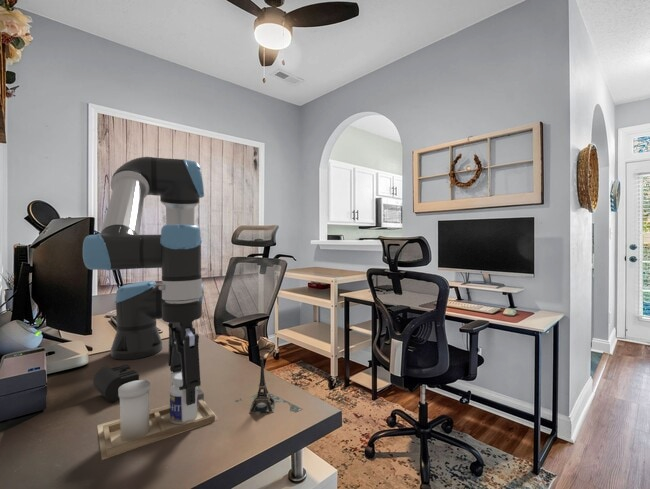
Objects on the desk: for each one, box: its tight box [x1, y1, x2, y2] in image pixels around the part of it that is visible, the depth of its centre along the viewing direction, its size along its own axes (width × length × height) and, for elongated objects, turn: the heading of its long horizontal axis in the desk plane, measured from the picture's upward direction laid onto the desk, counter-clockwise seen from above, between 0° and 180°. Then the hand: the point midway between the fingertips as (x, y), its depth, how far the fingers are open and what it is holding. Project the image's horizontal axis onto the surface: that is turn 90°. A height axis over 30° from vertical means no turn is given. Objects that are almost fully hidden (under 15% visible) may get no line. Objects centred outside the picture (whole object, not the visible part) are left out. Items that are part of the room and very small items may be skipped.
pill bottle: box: [169, 372, 198, 424], centre depth 68 cm, size 5×5×9 cm
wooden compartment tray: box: [96, 387, 220, 461], centre depth 67 cm, size 13×20×3 cm, turn 127°
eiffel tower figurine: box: [234, 354, 303, 415], centre depth 75 cm, size 15×10×13 cm
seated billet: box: [118, 379, 151, 442], centre depth 63 cm, size 5×5×9 cm
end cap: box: [92, 364, 140, 404], centre depth 80 cm, size 10×7×7 cm
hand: (183, 409), depth 68 cm, fingers open, 8 cm apart
